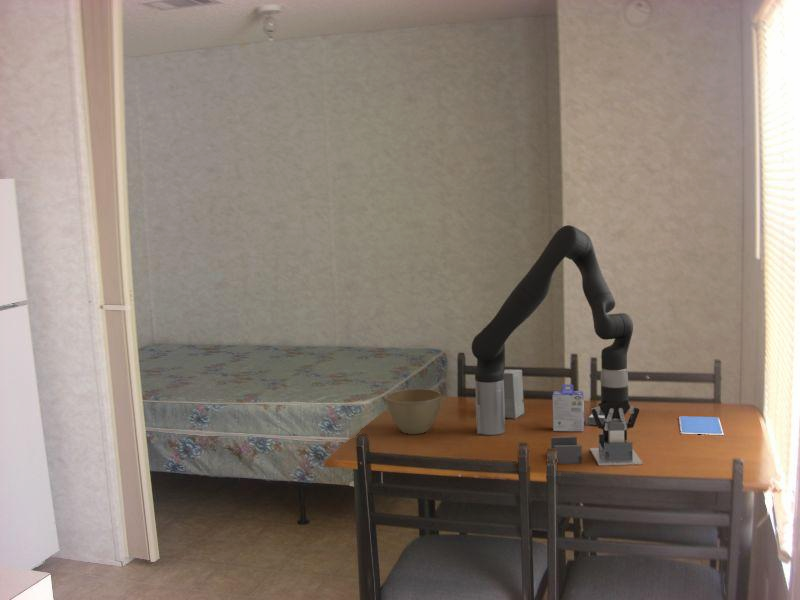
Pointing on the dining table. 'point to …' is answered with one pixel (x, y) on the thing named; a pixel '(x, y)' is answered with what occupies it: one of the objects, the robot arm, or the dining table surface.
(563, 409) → the ink cartridge box
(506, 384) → the skincare box
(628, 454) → the block
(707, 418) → the tablet computer
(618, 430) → the plug
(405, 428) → the flower pot
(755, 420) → the dining table surface
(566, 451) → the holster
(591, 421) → the graphics card
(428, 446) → the dining table surface
